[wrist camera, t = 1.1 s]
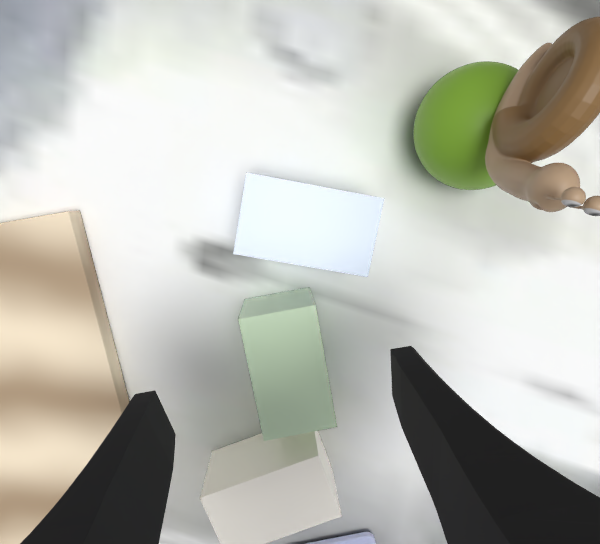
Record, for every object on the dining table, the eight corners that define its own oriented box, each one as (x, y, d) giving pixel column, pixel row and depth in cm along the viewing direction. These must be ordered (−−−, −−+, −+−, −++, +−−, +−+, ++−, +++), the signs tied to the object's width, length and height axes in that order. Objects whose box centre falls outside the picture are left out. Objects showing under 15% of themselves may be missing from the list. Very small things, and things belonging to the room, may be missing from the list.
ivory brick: (311, 414, 24) (318, 455, 20) (331, 466, 25) (342, 516, 21) (212, 449, 24) (199, 497, 20) (234, 501, 25) (226, 557, 21)
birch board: (160, 521, 25) (154, 537, 24) (-49, 562, 24) (-66, 580, 23) (79, 210, 22) (68, 211, 20) (-161, 252, 21) (-187, 255, 20)
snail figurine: (376, 188, 22) (490, 175, 10) (423, 64, 21) (604, -103, 10) (470, 223, 23) (679, 248, 11) (520, 104, 22) (803, -7, 10)
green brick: (327, 389, 24) (337, 426, 20) (265, 401, 24) (263, 441, 20) (309, 286, 23) (315, 305, 19) (244, 298, 23) (238, 319, 19)
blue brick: (365, 198, 22) (384, 198, 19) (351, 263, 23) (367, 277, 19) (251, 177, 22) (246, 172, 18) (240, 244, 22) (233, 253, 19)
